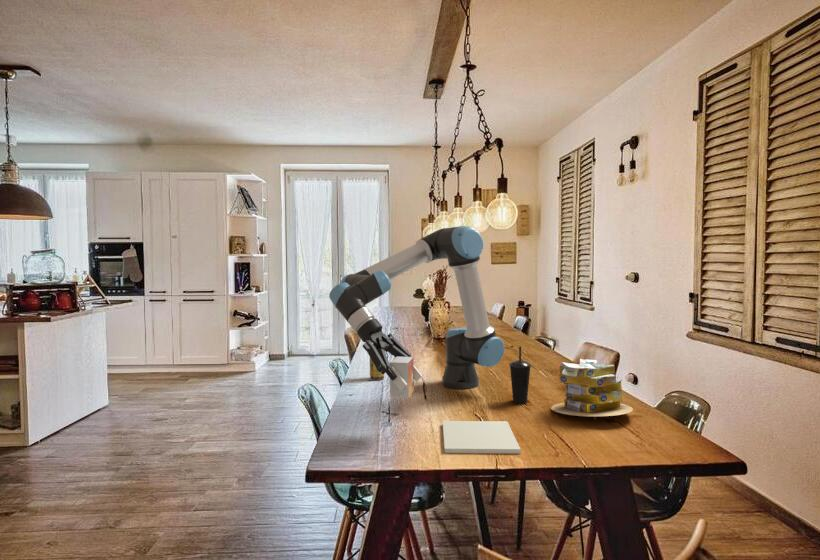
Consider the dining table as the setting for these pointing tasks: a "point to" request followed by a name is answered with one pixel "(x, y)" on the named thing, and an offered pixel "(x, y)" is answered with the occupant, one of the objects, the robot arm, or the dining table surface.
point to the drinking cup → (520, 379)
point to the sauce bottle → (375, 372)
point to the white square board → (479, 437)
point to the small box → (403, 376)
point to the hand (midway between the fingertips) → (411, 383)
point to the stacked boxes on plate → (591, 390)
